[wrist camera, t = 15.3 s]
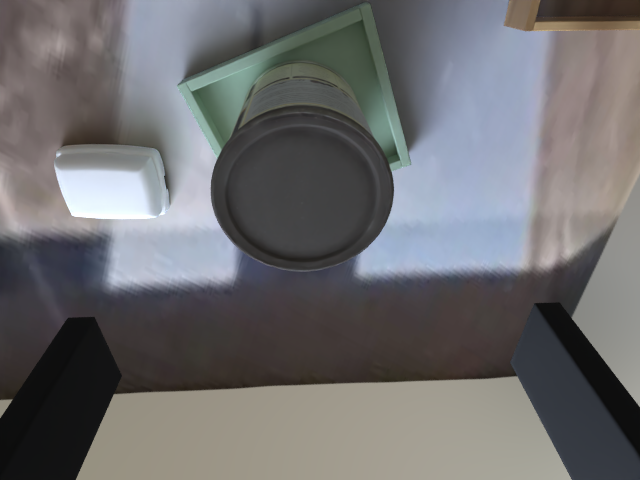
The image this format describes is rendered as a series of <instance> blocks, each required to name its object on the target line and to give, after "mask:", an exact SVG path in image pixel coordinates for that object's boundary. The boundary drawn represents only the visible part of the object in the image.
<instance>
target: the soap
mask: <svg viewBox="0 0 640 480" xmlns="http://www.w3.org/2000/svg"><path fill="white" fill-rule="evenodd" d="M56 157H57V158H56V159H55V160H54V166H55V171H56V175H57V179H58V182H59V186H60V189H61V191H62V194H63V197H64V199H65V202H66V204H67V206H68V208H69V210H70V212H71V214H72V215H73V216H78V217H89V218H105V219H141V218H156V217H158V216H159V215H161V214H165V213H166V212H167V210H168V209H169V206H170V203H169V192H168V188H167V189H166V185H165V180H164V176H165V171H164V165H163V162H162V159H161V156H160V153H159V152H158V150H156V149H154V148H148V147H140V146H130V145H115V144H81V145H66V146H63V147H61V148H60V149H58V150H57V152H56Z"/></svg>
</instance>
